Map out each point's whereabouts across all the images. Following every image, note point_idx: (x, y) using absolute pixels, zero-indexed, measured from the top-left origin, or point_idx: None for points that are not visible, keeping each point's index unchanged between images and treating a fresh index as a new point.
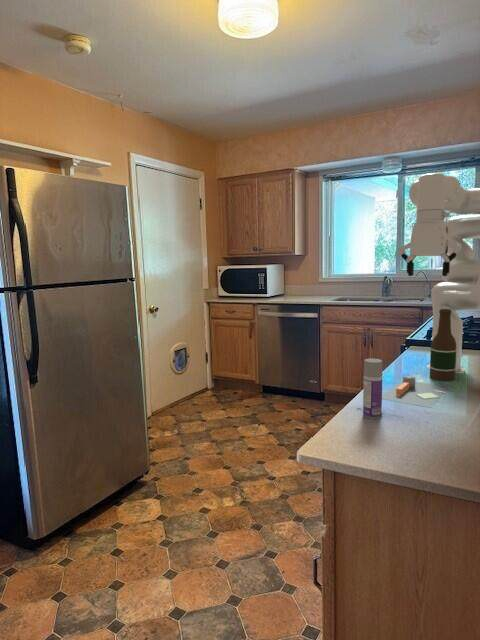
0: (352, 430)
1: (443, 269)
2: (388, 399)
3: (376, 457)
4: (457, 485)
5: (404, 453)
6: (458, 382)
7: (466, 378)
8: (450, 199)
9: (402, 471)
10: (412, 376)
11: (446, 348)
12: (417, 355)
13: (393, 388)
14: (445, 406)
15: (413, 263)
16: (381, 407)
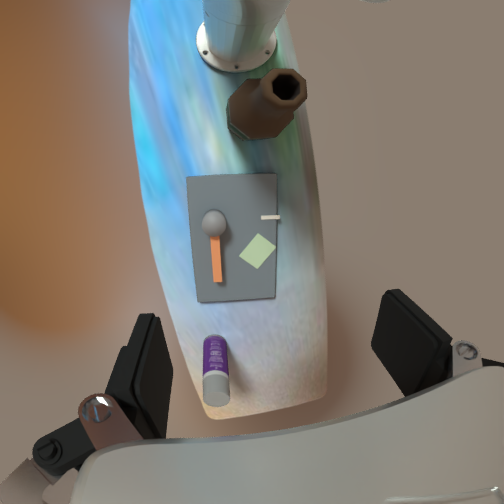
0: None
1: (391, 370)
2: (211, 299)
3: (259, 402)
4: (317, 398)
5: (276, 388)
6: None
7: None
8: None
9: (282, 405)
10: (217, 214)
11: (275, 136)
12: None
13: (194, 243)
14: (286, 260)
15: (144, 396)
16: (226, 349)
